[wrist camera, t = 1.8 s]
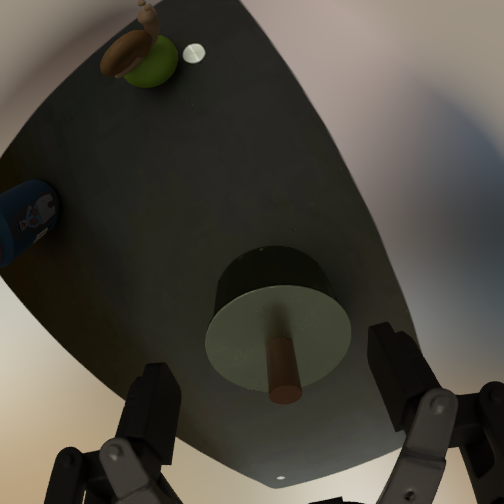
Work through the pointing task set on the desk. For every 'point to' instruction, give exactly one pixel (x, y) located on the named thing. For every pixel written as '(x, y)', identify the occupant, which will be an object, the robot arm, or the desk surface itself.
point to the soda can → (25, 217)
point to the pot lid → (278, 339)
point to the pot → (269, 272)
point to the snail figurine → (142, 53)
